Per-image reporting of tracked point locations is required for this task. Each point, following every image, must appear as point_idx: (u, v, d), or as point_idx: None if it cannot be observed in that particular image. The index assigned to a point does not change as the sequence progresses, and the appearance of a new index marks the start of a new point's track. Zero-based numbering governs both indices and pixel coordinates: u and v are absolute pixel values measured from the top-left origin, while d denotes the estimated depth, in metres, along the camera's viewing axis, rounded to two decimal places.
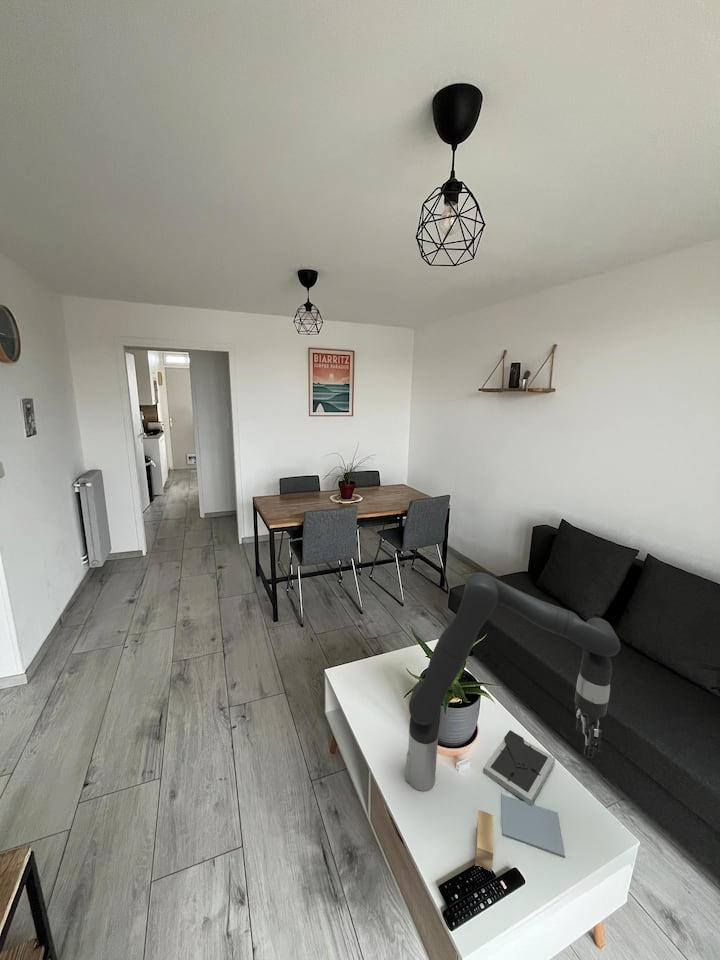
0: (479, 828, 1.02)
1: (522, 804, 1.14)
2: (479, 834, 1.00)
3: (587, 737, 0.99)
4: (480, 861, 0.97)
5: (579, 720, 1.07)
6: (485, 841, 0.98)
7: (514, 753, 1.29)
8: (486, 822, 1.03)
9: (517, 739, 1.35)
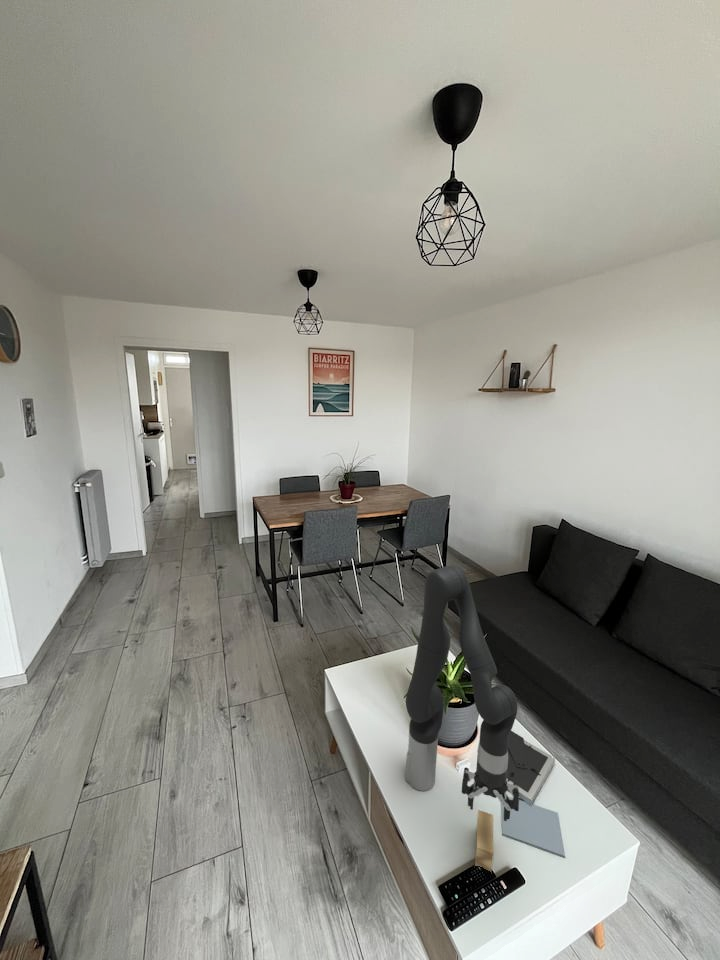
0: (479, 828, 1.02)
1: (522, 804, 1.14)
2: (479, 834, 1.00)
3: (507, 803, 0.97)
4: (480, 861, 0.97)
5: (473, 797, 1.00)
6: (485, 841, 0.98)
7: (515, 753, 1.29)
8: (486, 822, 1.03)
9: (517, 739, 1.35)
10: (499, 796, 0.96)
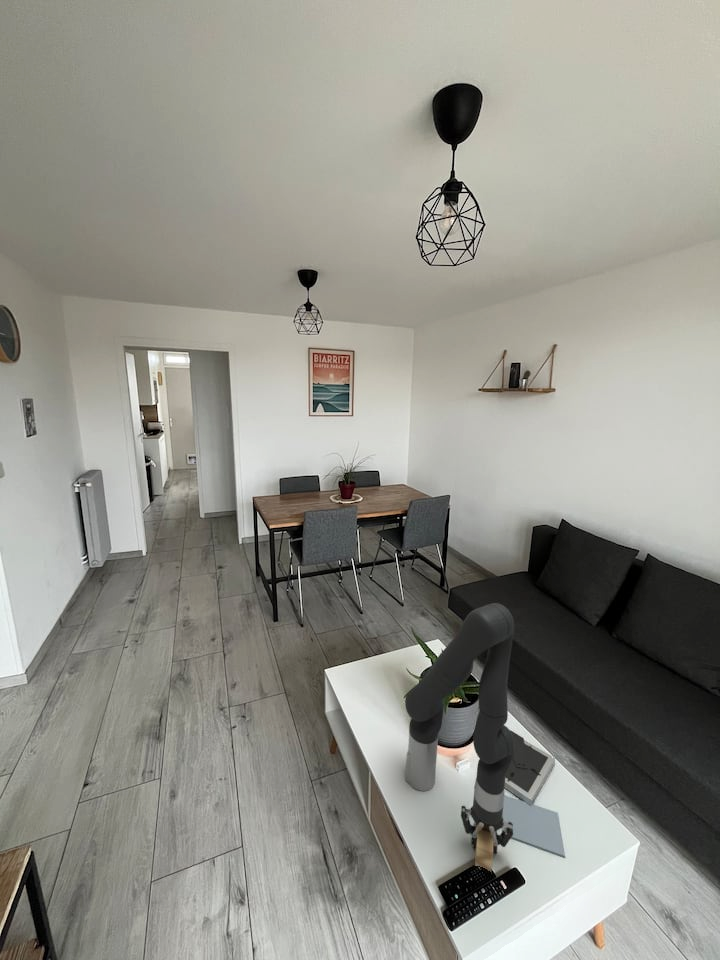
0: None
1: (522, 804, 1.14)
2: (479, 834, 1.00)
3: (496, 839, 0.99)
4: (480, 861, 0.97)
5: (476, 837, 1.02)
6: (485, 841, 0.98)
7: (515, 753, 1.29)
8: None
9: (517, 739, 1.35)
10: (493, 832, 0.99)
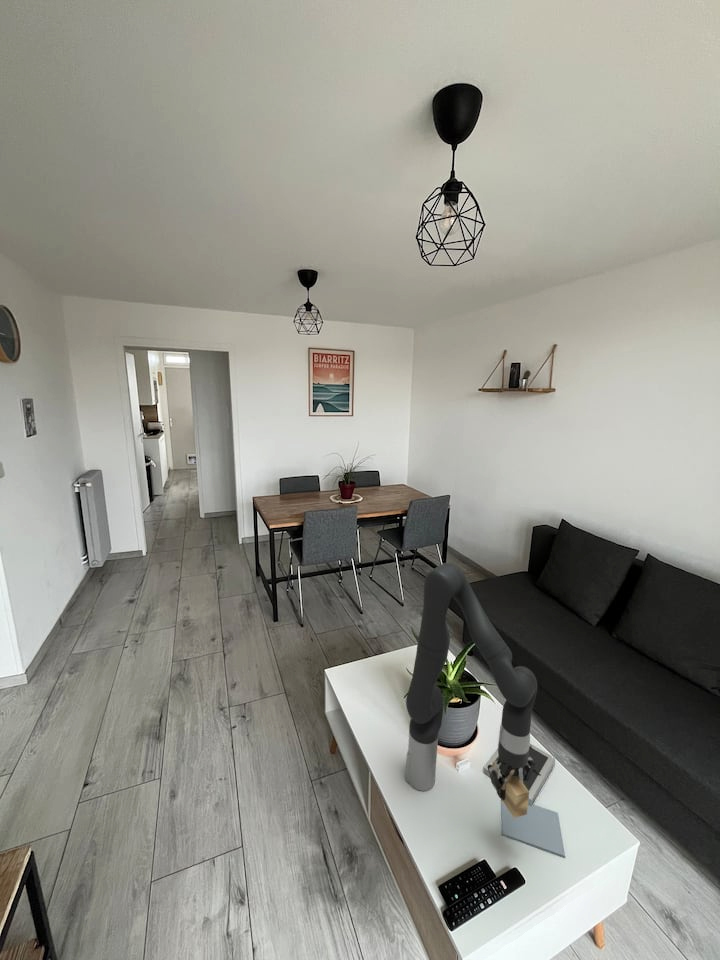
0: None
1: None
2: None
3: None
4: (518, 807, 0.97)
5: None
6: (517, 786, 0.98)
7: None
8: None
9: None
10: (520, 773, 1.00)
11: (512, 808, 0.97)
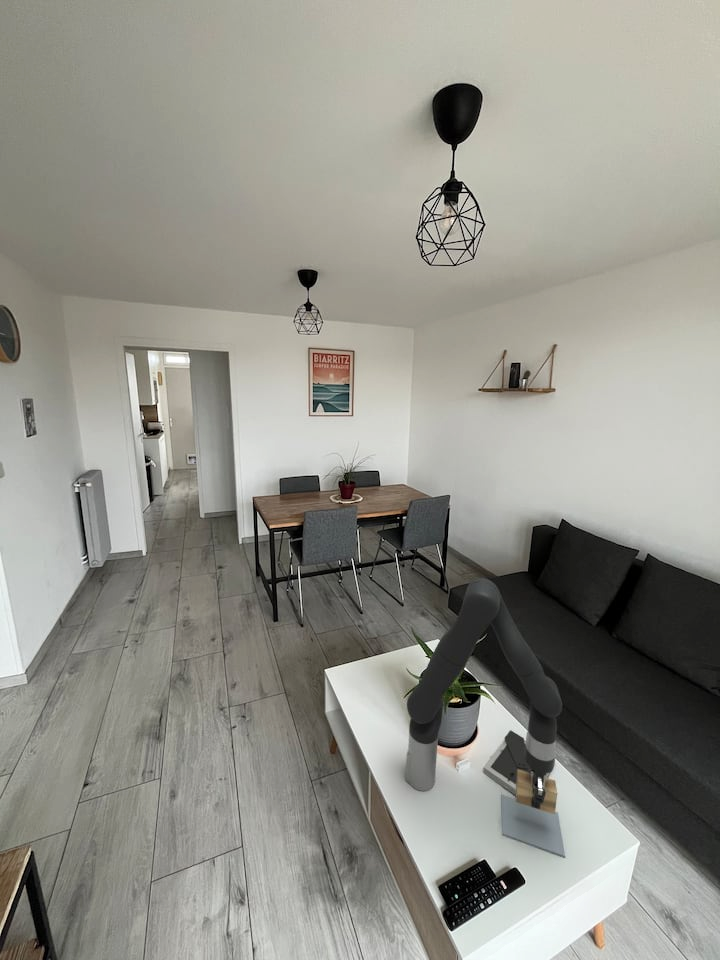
0: None
1: (522, 804, 1.14)
2: None
3: None
4: None
5: None
6: (548, 784, 1.05)
7: (515, 753, 1.29)
8: (527, 777, 1.07)
9: (517, 739, 1.35)
10: None
11: (552, 807, 1.04)
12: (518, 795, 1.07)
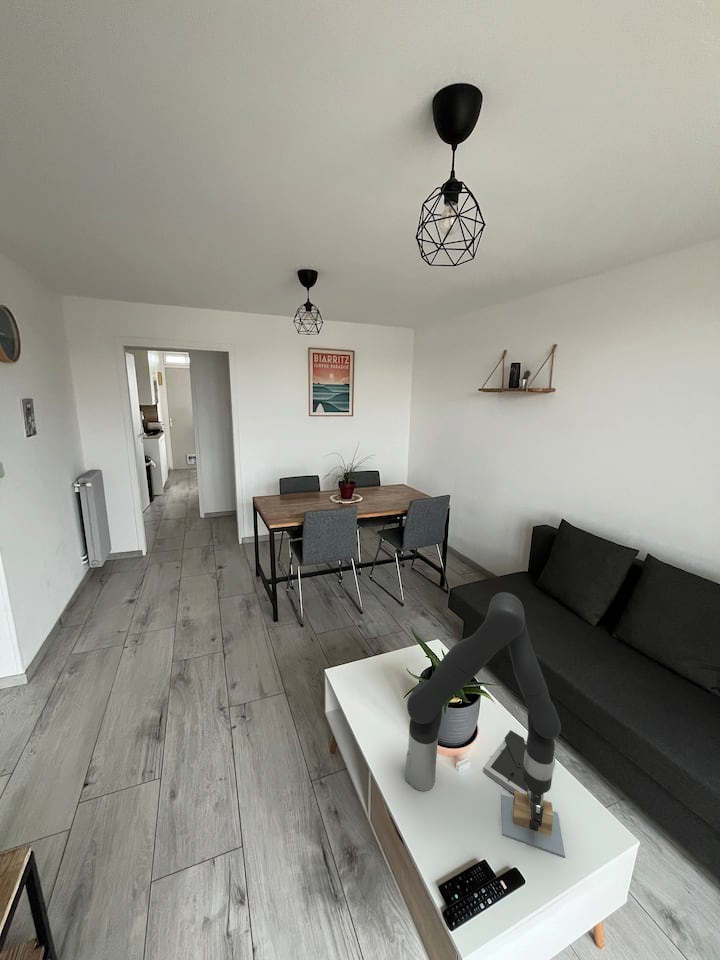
0: None
1: None
2: None
3: None
4: None
5: None
6: (544, 806, 1.07)
7: (515, 753, 1.29)
8: (524, 799, 1.09)
9: (517, 739, 1.35)
10: None
11: (548, 829, 1.06)
12: (515, 817, 1.08)
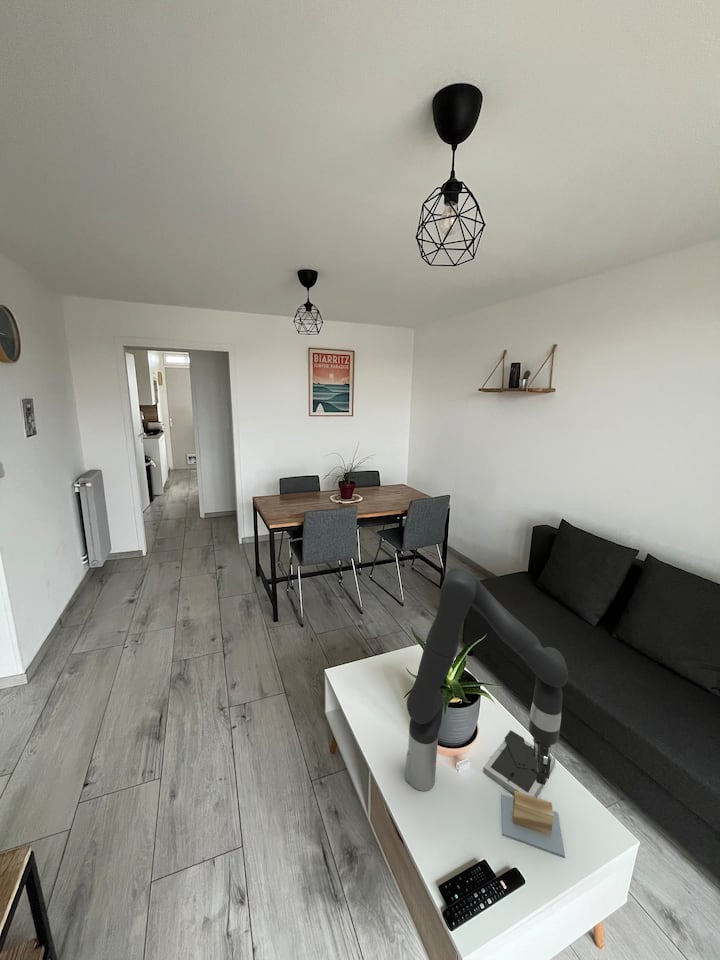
0: (534, 808, 1.06)
1: None
2: (540, 810, 1.06)
3: None
4: None
5: None
6: (544, 806, 1.07)
7: (515, 753, 1.29)
8: (524, 799, 1.09)
9: (518, 739, 1.35)
10: None
11: (548, 829, 1.06)
12: (515, 817, 1.08)
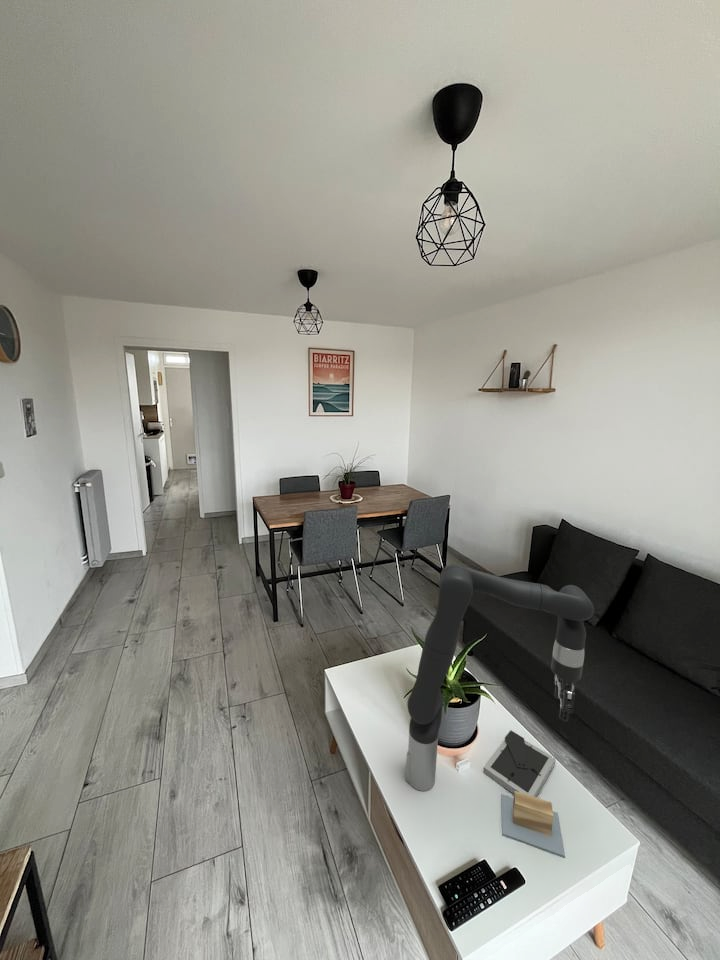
0: (534, 808, 1.06)
1: None
2: (540, 810, 1.06)
3: None
4: None
5: None
6: (544, 806, 1.07)
7: (515, 753, 1.29)
8: (524, 799, 1.09)
9: (518, 739, 1.35)
10: None
11: (548, 829, 1.06)
12: (515, 817, 1.08)
